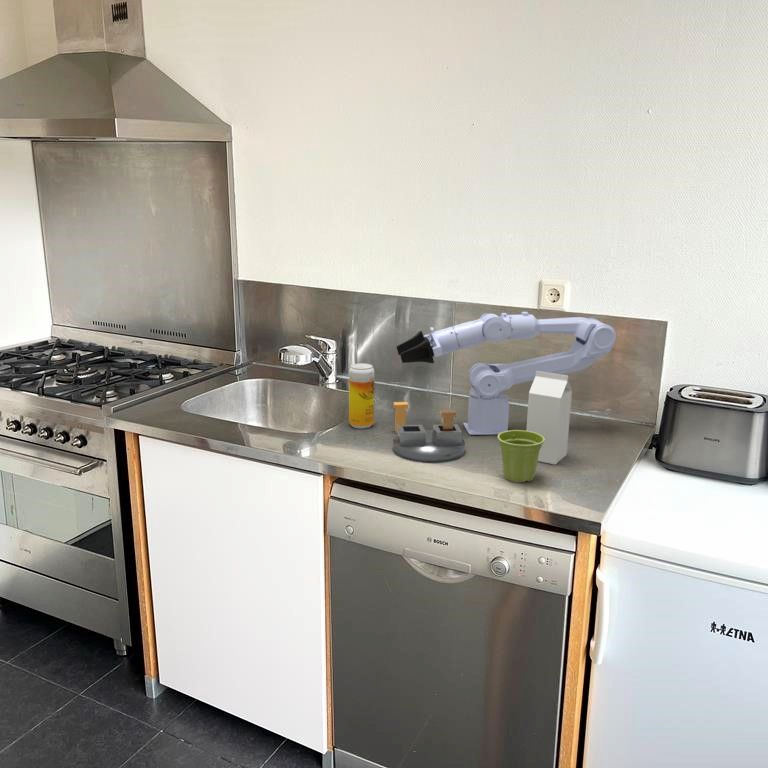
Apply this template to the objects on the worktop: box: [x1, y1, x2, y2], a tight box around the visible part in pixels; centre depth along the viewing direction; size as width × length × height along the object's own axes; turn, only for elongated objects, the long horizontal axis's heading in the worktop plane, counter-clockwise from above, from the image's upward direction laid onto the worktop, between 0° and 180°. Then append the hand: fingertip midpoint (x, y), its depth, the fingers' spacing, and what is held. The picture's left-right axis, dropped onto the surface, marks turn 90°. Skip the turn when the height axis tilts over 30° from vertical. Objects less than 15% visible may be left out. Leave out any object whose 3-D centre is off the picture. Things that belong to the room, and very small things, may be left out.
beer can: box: [348, 362, 375, 430], centre depth 185 cm, size 6×6×15 cm
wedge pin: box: [393, 401, 409, 434], centre depth 182 cm, size 3×2×7 cm
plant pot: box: [497, 429, 545, 483], centre depth 155 cm, size 9×9×9 cm
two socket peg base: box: [392, 409, 466, 464], centre depth 170 cm, size 16×16×9 cm
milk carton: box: [525, 371, 573, 466], centre depth 165 cm, size 7×7×19 cm
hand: (399, 354), depth 178 cm, fingers open, 7 cm apart
